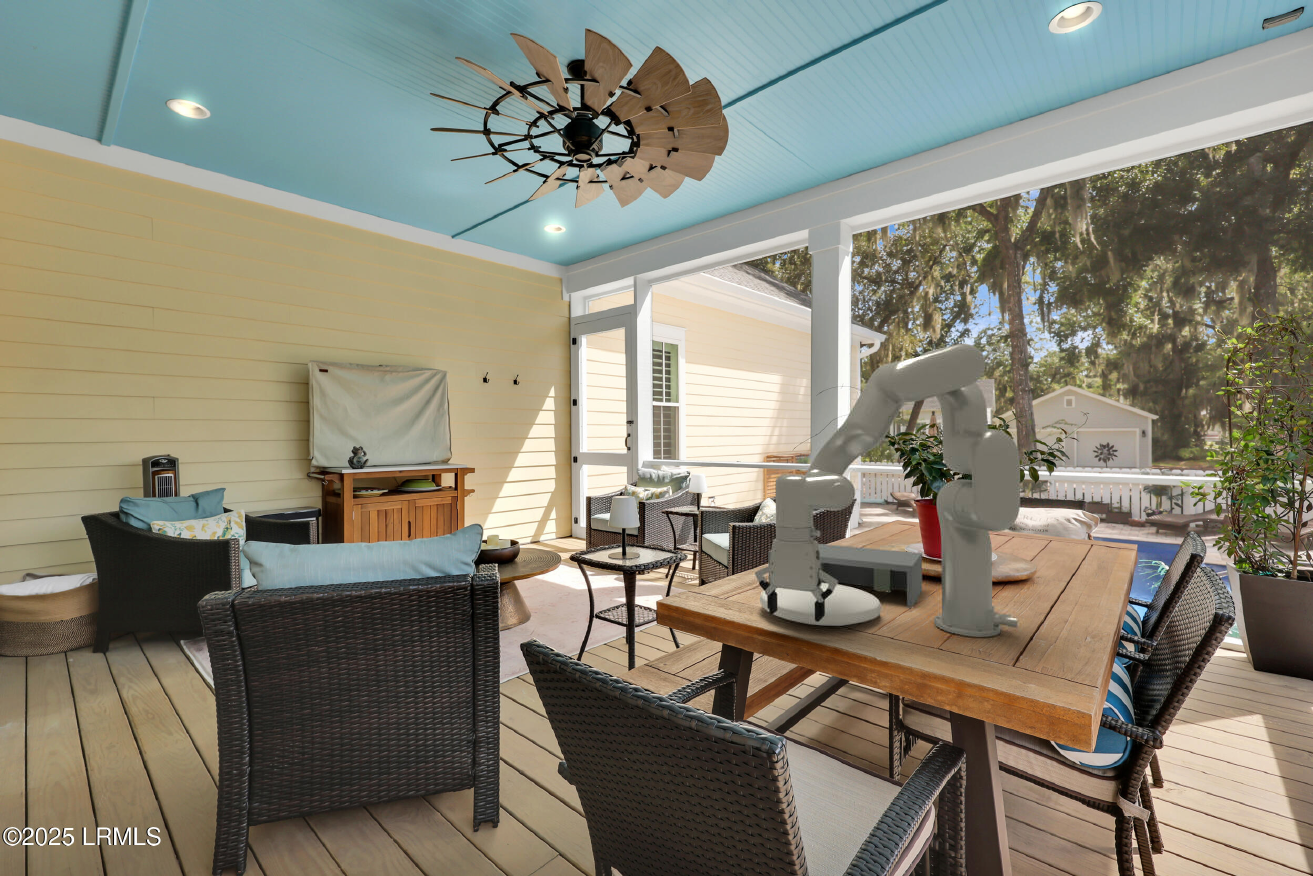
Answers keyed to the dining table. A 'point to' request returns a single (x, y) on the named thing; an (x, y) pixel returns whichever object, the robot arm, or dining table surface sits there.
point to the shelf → (873, 568)
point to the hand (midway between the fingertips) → (795, 616)
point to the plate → (826, 606)
